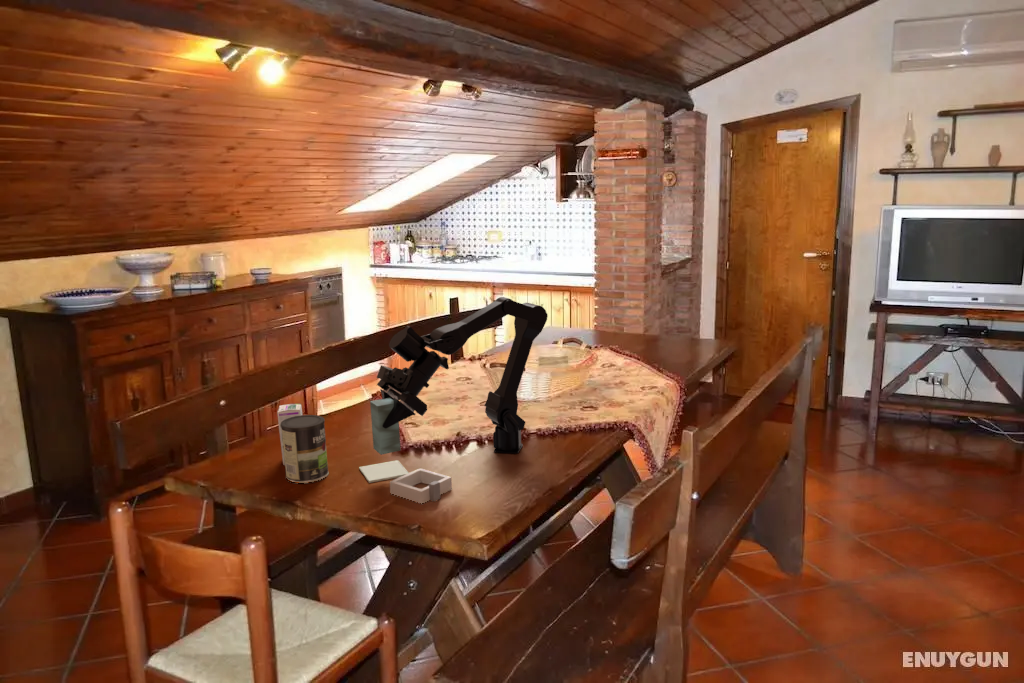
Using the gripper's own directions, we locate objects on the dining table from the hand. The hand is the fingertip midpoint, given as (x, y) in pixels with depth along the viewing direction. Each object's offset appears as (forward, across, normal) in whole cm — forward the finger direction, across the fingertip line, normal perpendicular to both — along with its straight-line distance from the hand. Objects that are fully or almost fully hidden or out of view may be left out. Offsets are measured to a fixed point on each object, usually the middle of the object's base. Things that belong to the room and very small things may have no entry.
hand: (379, 424), depth 188 cm
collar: (+6, +13, +13) cm, 19 cm away
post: (+4, 0, +6) cm, 7 cm away
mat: (+9, -3, +10) cm, 14 cm away
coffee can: (+20, -12, -1) cm, 24 cm away
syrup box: (+20, -24, -1) cm, 31 cm away
